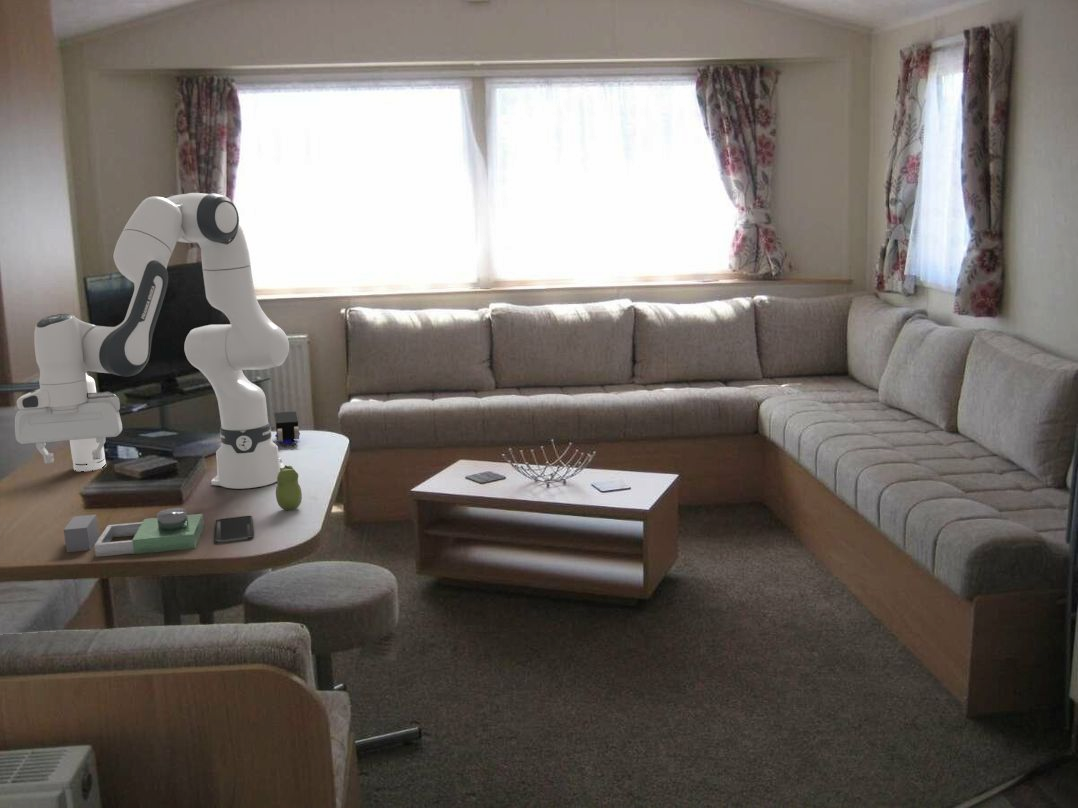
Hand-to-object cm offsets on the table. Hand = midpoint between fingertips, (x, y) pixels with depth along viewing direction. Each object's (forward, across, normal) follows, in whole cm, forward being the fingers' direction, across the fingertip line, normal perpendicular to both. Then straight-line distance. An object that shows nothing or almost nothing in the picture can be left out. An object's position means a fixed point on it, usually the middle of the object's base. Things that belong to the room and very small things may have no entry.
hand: (73, 460), depth 230 cm
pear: (+18, -42, -12) cm, 47 cm away
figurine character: (+17, -38, -78) cm, 88 cm away
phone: (+19, -31, 0) cm, 36 cm away
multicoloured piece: (+18, -14, +2) cm, 23 cm away
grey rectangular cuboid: (+18, 0, -1) cm, 18 cm away
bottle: (+17, +13, -67) cm, 70 cm away
